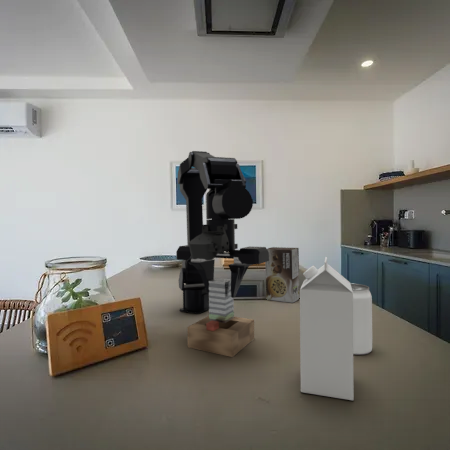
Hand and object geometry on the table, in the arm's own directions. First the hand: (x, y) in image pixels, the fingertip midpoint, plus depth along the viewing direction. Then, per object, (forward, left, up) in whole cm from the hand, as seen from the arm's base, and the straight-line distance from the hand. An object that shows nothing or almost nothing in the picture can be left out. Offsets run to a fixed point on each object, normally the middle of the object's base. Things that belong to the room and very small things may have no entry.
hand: (221, 296), depth 64 cm
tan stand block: (0, 0, -10) cm, 10 cm away
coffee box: (0, +39, -10) cm, 40 cm away
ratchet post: (0, 0, -5) cm, 5 cm away
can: (+24, +9, -10) cm, 27 cm away
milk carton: (+22, -7, -10) cm, 25 cm away
